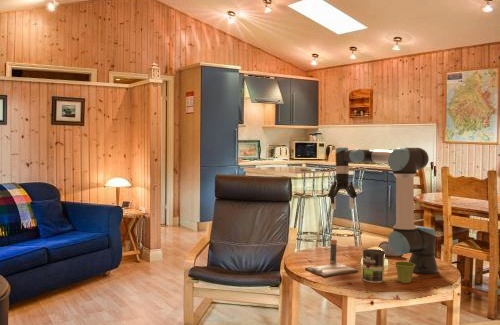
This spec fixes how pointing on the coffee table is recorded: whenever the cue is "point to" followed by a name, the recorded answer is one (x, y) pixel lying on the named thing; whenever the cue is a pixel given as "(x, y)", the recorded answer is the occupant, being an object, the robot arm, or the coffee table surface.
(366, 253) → the coffee can
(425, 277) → the coffee table surface
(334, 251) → the marker
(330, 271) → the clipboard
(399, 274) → the plant pot
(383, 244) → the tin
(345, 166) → the robot arm
